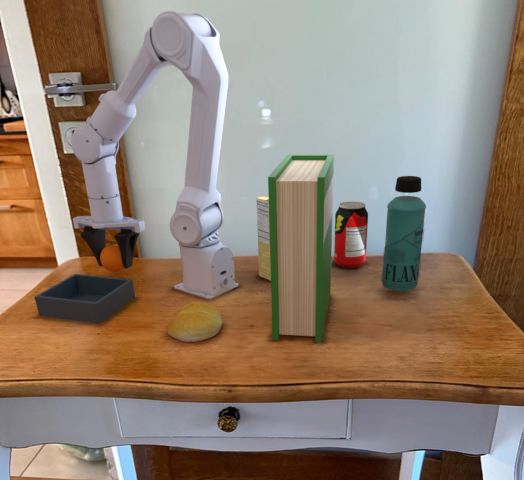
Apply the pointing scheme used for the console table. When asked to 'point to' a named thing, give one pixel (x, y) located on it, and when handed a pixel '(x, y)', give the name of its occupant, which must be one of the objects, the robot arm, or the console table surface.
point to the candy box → (263, 237)
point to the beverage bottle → (403, 237)
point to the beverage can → (350, 234)
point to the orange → (111, 258)
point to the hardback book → (301, 244)
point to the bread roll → (195, 322)
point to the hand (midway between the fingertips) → (115, 265)
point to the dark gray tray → (85, 298)
